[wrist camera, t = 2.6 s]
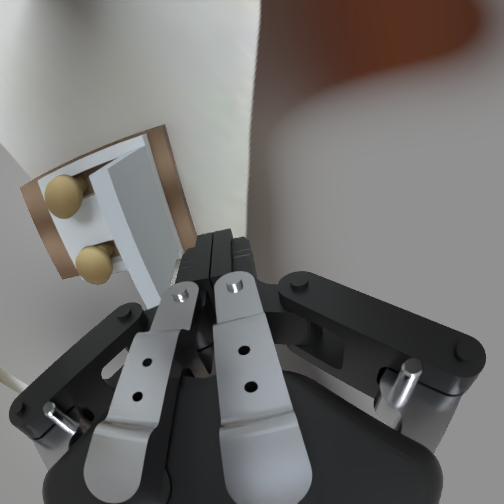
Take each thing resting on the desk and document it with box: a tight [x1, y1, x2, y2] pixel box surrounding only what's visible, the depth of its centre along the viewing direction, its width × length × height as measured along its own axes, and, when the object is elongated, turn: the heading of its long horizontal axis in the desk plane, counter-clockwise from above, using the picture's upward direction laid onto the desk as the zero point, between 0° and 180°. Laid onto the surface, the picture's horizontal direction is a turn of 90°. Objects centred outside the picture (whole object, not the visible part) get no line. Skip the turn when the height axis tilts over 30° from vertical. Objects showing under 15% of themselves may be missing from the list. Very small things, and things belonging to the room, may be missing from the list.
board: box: [20, 125, 197, 285], centre depth 21 cm, size 11×16×5 cm
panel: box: [38, 133, 184, 309], centre depth 18 cm, size 11×11×8 cm
